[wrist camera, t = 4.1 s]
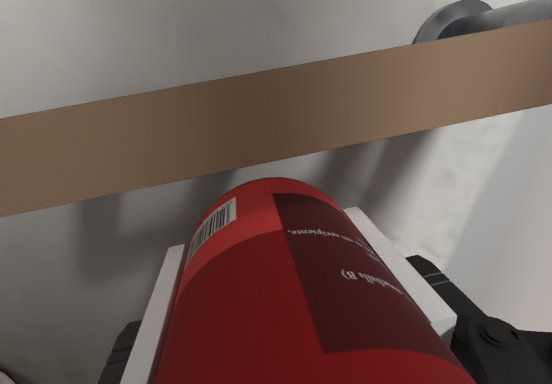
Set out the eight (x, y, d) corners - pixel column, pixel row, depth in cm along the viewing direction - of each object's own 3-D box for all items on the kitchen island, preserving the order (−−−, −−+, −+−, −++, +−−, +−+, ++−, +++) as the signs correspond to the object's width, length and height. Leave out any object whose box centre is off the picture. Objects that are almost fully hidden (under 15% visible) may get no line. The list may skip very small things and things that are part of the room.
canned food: (195, 307, 15) (117, 798, 5) (185, 168, 11) (-109, 793, 2) (329, 299, 16) (488, 676, 6) (354, 172, 13) (785, 533, 3)
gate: (414, 43, 13) (703, -9, 5) (412, 78, 13) (667, 79, 6) (73, 105, 12) (-251, 164, 4) (89, 139, 12) (-162, 250, 4)
